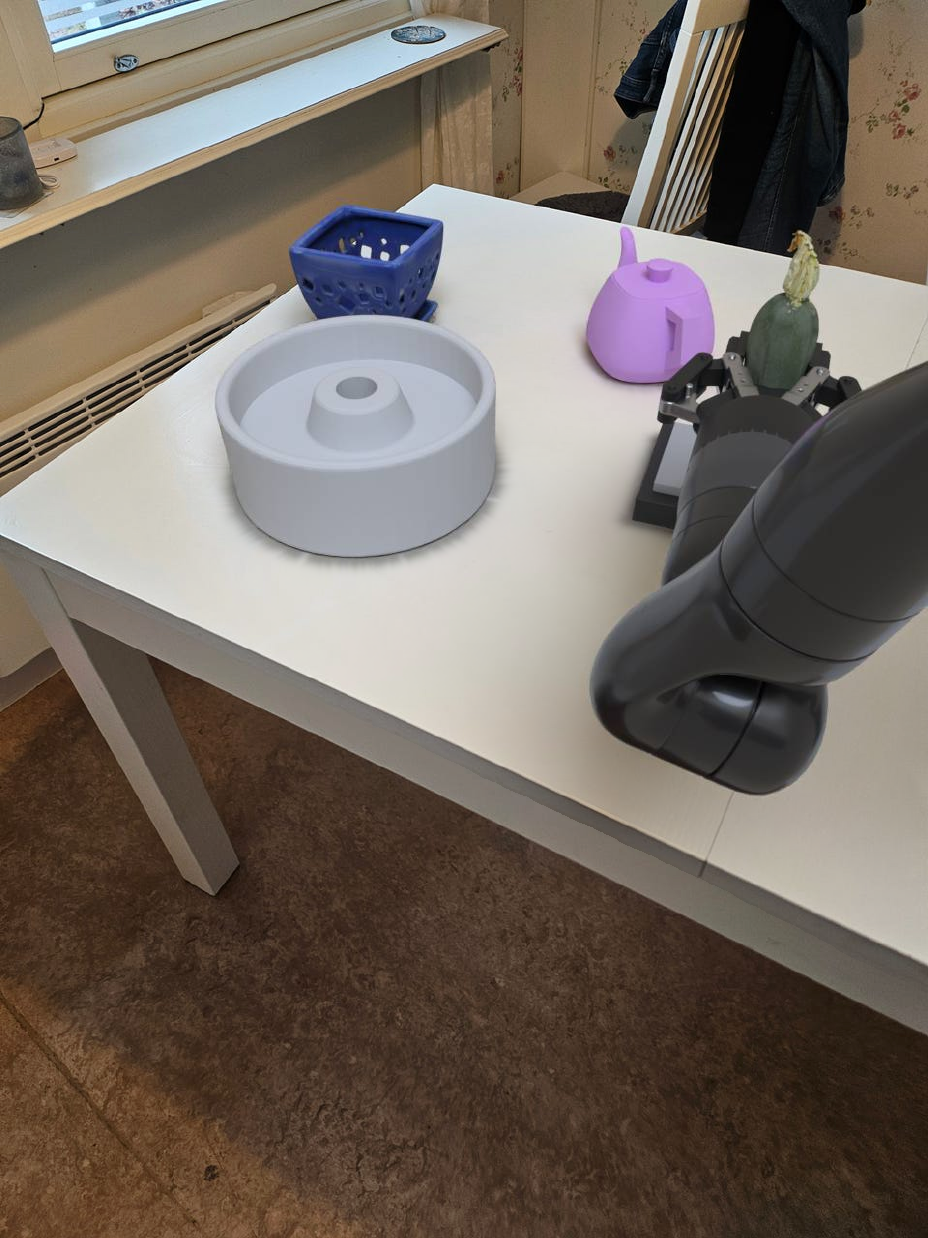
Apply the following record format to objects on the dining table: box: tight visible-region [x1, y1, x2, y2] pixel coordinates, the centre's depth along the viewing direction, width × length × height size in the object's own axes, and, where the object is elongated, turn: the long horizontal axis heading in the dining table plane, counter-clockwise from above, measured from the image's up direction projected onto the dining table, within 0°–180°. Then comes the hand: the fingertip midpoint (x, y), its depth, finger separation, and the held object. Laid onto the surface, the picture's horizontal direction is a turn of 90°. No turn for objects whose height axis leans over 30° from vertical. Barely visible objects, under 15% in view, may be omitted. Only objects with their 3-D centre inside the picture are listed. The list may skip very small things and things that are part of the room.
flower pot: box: [288, 204, 444, 322], centre depth 99 cm, size 13×13×12 cm
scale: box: [632, 421, 697, 530], centre depth 81 cm, size 14×13×4 cm
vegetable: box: [743, 229, 821, 390], centre depth 61 cm, size 4×4×20 cm
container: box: [214, 315, 497, 558], centre depth 81 cm, size 25×25×10 cm
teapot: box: [585, 225, 716, 384], centre depth 95 cm, size 13×20×11 cm
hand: (777, 348), depth 62 cm, fingers closed on vegetable, 4 cm apart
